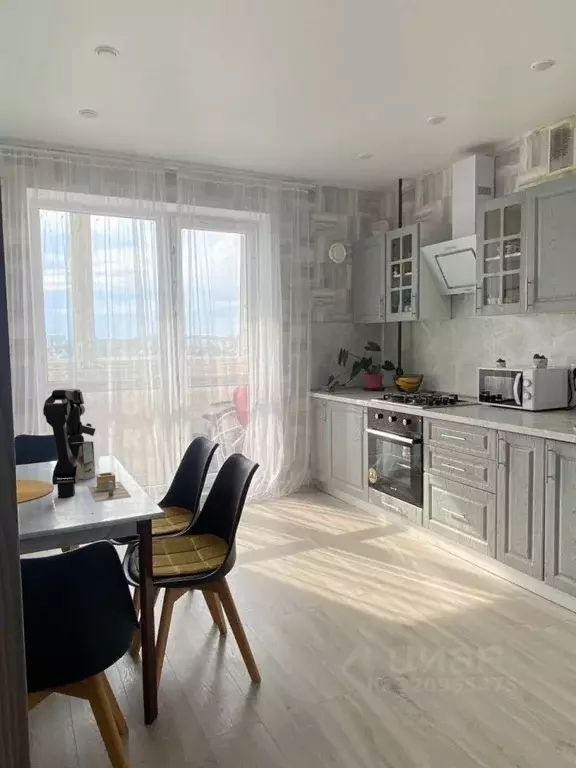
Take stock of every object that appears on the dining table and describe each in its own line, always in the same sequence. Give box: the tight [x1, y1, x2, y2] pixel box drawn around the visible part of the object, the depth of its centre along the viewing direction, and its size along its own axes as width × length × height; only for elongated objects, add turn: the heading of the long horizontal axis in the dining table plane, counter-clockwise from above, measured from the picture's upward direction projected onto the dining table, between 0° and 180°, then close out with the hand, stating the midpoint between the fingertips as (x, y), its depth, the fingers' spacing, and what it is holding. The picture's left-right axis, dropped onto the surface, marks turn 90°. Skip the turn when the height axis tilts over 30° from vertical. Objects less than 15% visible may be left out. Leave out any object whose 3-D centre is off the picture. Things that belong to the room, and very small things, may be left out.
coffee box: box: [69, 440, 96, 481], centre depth 254 cm, size 9×6×16 cm
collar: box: [95, 471, 116, 489], centre depth 231 cm, size 6×6×5 cm
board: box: [87, 481, 132, 503], centre depth 224 cm, size 28×13×6 cm, turn 25°
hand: (74, 457), depth 235 cm, fingers open, 9 cm apart
